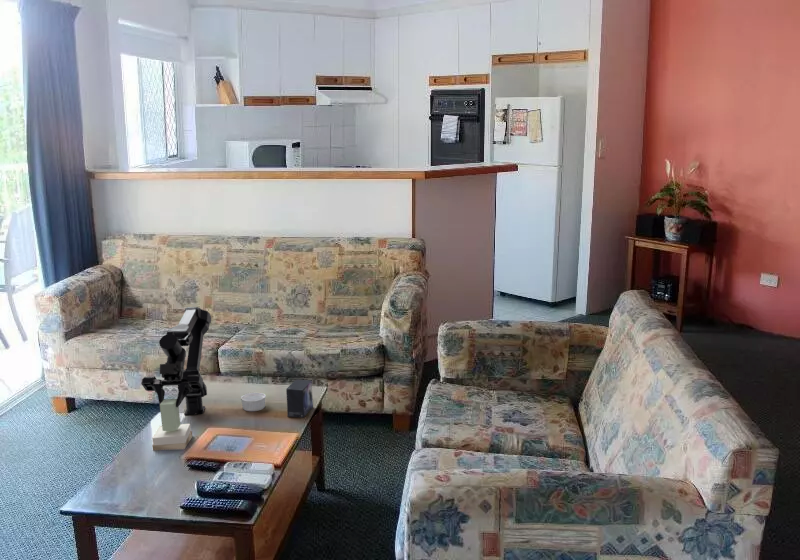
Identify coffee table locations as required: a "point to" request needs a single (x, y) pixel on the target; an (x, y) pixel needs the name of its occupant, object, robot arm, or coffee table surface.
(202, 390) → the robot arm
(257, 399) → the ramekin
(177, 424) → the sage block
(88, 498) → the coffee table surface
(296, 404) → the small box
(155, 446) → the tower base slab
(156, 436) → the tower top slab
